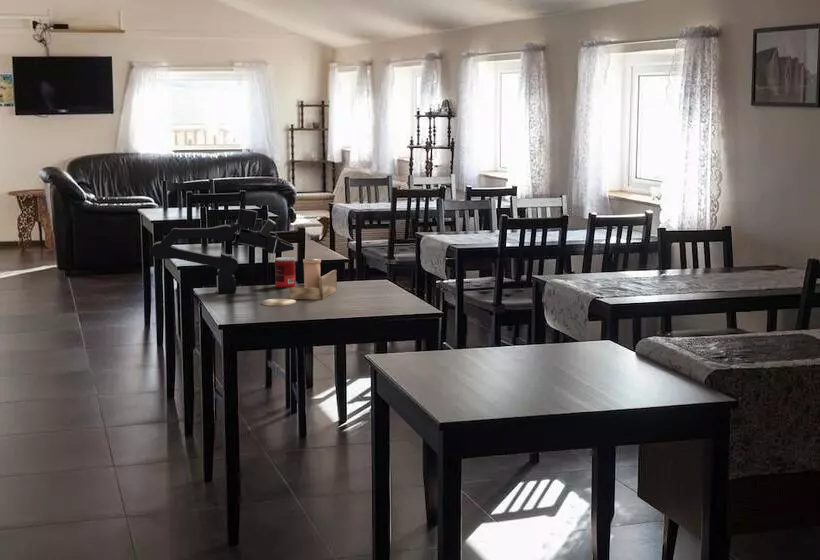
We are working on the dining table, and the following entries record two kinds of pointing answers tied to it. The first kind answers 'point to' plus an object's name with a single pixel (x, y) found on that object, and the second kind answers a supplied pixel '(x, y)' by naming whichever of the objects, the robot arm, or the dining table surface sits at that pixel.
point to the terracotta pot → (311, 273)
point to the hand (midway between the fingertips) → (293, 247)
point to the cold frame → (325, 288)
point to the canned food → (285, 272)
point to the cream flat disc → (278, 302)
